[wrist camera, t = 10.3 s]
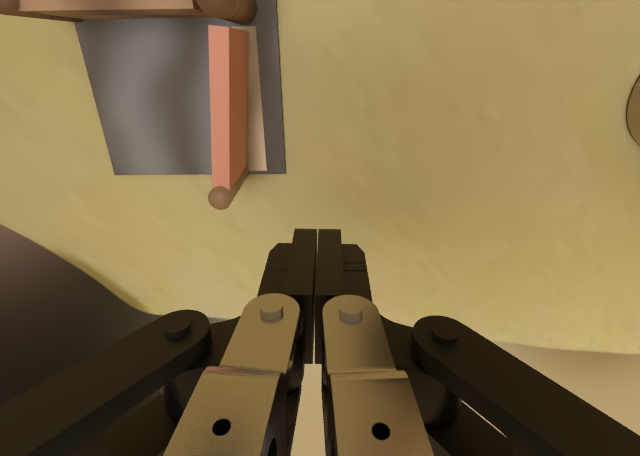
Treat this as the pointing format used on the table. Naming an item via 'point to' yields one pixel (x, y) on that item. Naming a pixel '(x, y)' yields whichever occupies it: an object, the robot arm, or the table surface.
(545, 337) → the table surface
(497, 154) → the table surface
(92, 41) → the grey and brown panels
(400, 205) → the table surface
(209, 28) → the swing panel
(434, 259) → the table surface
